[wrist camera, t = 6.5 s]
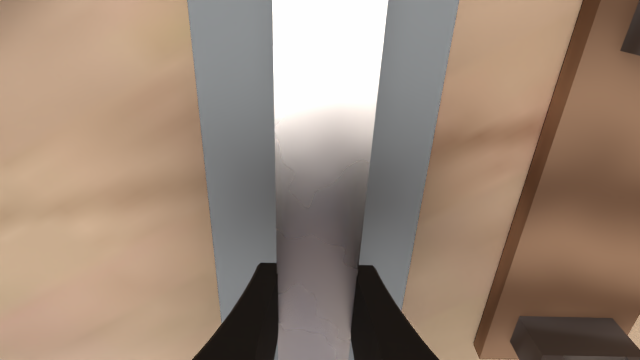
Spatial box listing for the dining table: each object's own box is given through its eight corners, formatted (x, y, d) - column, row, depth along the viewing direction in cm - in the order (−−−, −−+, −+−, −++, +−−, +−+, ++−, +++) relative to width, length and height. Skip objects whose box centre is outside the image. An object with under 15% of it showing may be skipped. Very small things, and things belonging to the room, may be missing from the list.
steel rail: (332, 439, 20) (334, 498, 18) (282, 438, 20) (278, 497, 18) (388, -143, 9) (410, -180, 7) (278, -149, 9) (266, -188, 7)
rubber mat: (387, 370, 25) (388, 378, 24) (229, 367, 25) (227, 376, 24) (481, -152, 13) (488, -157, 12) (174, -168, 13) (168, -175, 12)
